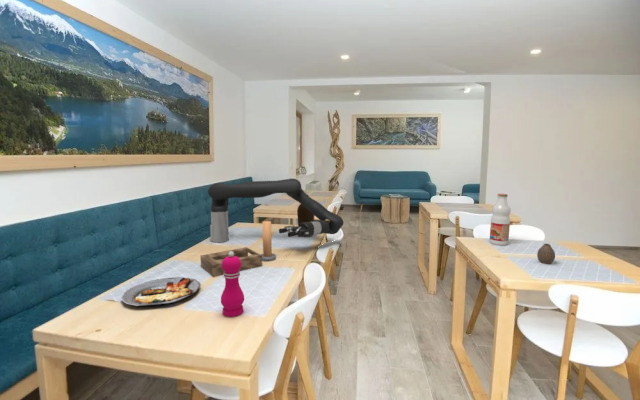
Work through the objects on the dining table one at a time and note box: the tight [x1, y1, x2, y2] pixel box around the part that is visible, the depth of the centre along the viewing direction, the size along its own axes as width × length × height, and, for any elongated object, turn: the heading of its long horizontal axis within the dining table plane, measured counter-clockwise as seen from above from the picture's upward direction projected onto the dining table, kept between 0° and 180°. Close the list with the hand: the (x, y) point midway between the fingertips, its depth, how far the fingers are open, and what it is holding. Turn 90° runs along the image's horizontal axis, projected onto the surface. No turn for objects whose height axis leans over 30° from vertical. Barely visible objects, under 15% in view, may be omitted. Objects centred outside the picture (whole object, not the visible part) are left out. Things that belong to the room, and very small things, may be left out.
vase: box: [536, 243, 556, 265], centre depth 156 cm, size 7×7×9 cm
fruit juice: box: [489, 193, 512, 246], centre depth 188 cm, size 9×9×28 cm
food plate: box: [120, 276, 201, 307], centre depth 120 cm, size 25×23×4 cm
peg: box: [260, 220, 277, 262], centre depth 160 cm, size 8×8×18 cm
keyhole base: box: [200, 246, 263, 278], centre depth 150 cm, size 22×16×5 cm
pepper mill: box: [220, 251, 245, 318], centre depth 106 cm, size 7×7×20 cm
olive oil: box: [296, 194, 315, 238], centre depth 206 cm, size 11×11×25 cm
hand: (283, 232), depth 165 cm, fingers open, 8 cm apart
